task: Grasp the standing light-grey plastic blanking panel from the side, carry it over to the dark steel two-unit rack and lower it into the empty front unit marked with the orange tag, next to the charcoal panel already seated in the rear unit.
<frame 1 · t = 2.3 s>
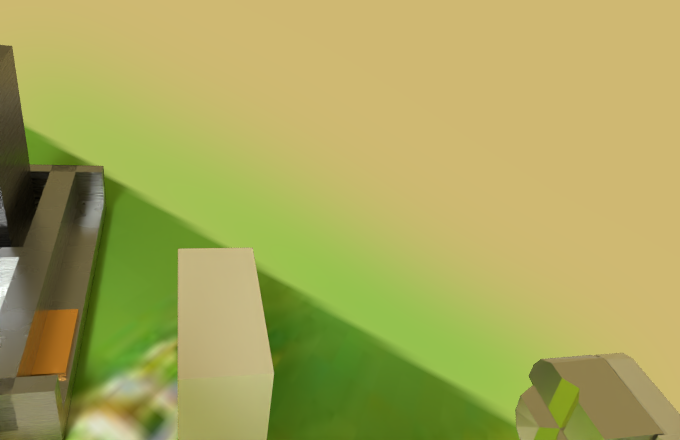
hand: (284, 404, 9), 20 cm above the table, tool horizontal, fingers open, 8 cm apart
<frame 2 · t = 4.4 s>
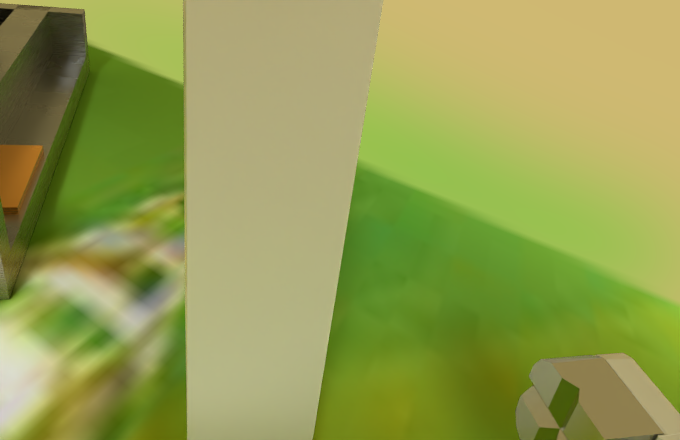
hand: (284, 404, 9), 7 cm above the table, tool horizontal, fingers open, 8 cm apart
blanking panel: (237, 376, 18), on the table
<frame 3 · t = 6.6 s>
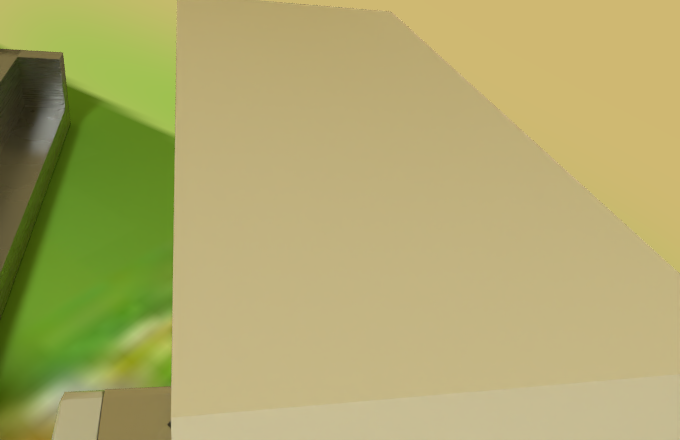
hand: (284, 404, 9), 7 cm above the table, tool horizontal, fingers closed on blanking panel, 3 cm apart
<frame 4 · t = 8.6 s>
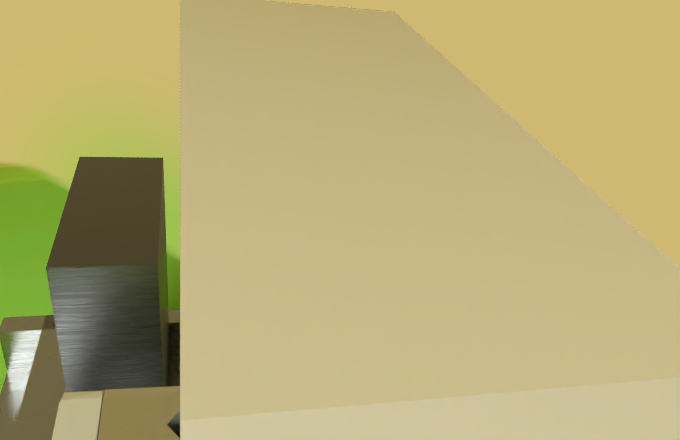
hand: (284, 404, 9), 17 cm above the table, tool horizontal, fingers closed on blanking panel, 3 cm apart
when the fingers open (9 cm above the table, at t = 10.9 s): blanking panel stays where it is, resting on rack.
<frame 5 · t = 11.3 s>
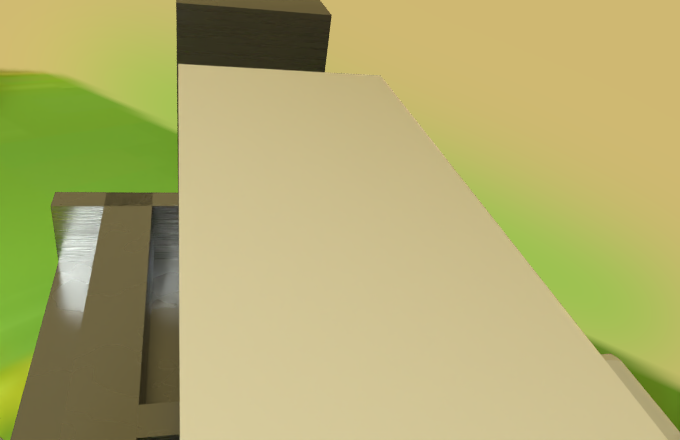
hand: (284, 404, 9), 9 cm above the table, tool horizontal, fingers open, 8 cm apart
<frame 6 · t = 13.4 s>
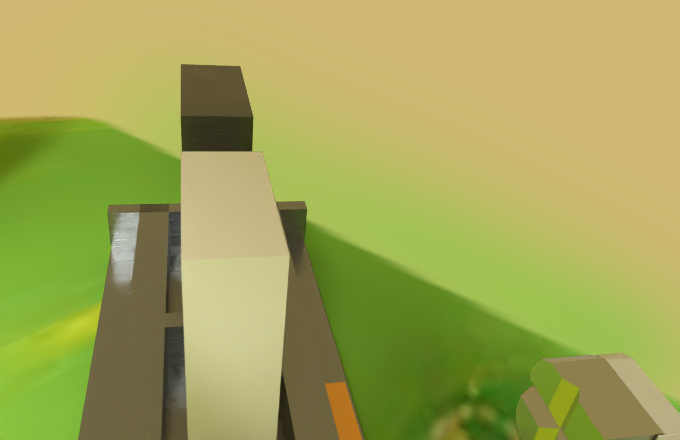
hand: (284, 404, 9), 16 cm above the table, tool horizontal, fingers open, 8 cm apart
rack: (219, 373, 31), on the table
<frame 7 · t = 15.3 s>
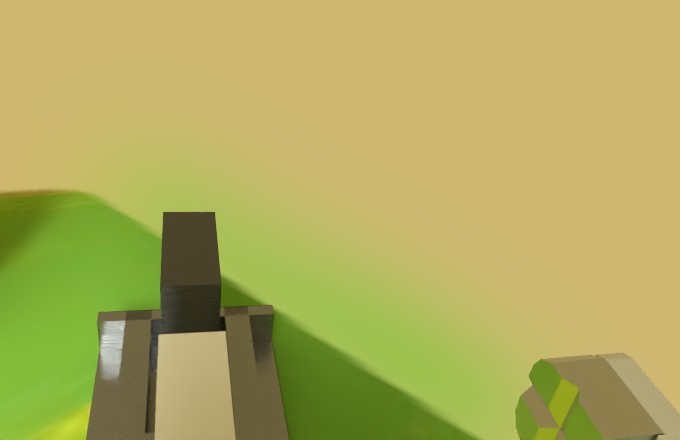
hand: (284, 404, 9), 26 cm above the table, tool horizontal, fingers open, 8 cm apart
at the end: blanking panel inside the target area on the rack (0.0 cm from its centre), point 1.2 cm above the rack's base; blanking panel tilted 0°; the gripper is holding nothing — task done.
